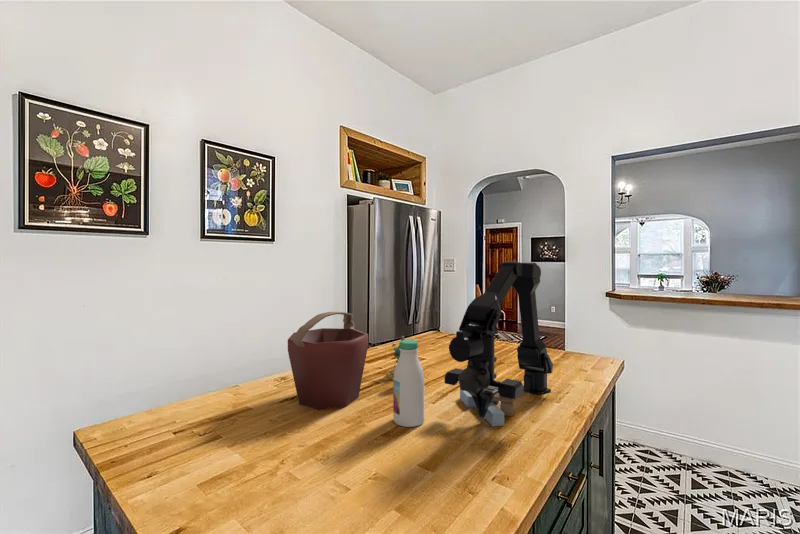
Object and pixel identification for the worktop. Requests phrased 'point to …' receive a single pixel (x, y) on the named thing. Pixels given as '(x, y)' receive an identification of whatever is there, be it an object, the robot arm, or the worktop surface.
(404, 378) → the milk bottle
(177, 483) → the worktop surface
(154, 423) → the worktop surface
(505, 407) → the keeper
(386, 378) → the frog figurine
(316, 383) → the bucket
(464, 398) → the link
